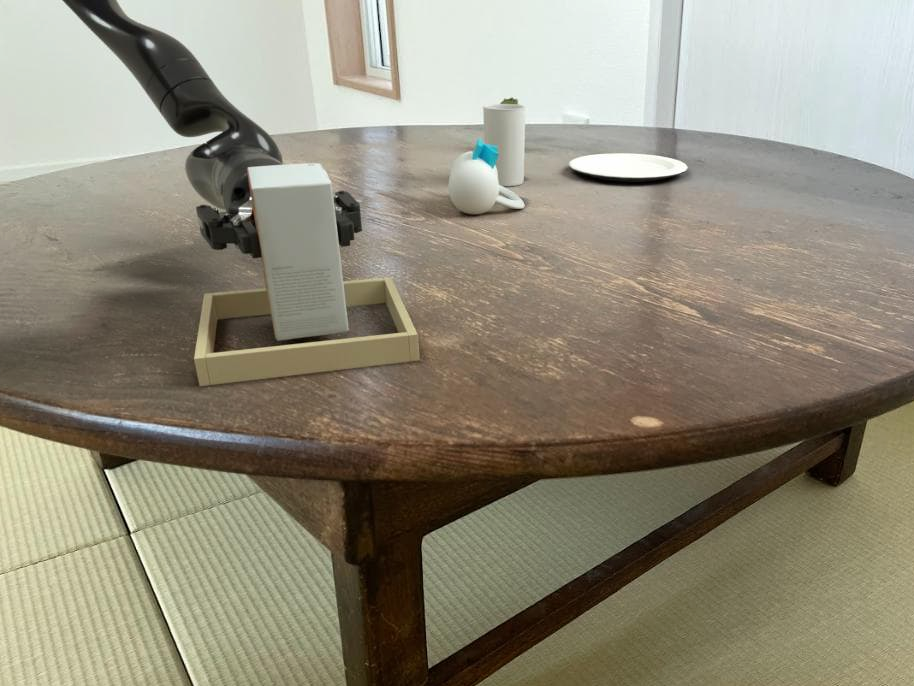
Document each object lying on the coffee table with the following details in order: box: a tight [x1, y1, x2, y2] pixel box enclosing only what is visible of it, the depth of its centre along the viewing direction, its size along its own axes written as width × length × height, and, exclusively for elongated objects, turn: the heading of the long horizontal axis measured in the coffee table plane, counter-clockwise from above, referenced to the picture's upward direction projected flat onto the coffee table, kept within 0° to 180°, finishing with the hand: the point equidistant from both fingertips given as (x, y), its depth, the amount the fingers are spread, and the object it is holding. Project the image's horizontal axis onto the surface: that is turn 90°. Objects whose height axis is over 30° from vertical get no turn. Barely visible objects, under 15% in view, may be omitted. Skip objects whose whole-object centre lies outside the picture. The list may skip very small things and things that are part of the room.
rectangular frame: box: [193, 276, 420, 387], centre depth 72 cm, size 18×16×3 cm
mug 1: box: [482, 103, 526, 187], centre depth 131 cm, size 10×7×12 cm, turn 24°
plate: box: [568, 152, 688, 183], centre depth 140 cm, size 21×21×2 cm
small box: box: [247, 162, 350, 342], centre depth 69 cm, size 8×6×13 cm
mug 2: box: [447, 138, 526, 216], centre depth 116 cm, size 12×9×12 cm
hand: (301, 240), depth 66 cm, fingers closed on small box, 7 cm apart
